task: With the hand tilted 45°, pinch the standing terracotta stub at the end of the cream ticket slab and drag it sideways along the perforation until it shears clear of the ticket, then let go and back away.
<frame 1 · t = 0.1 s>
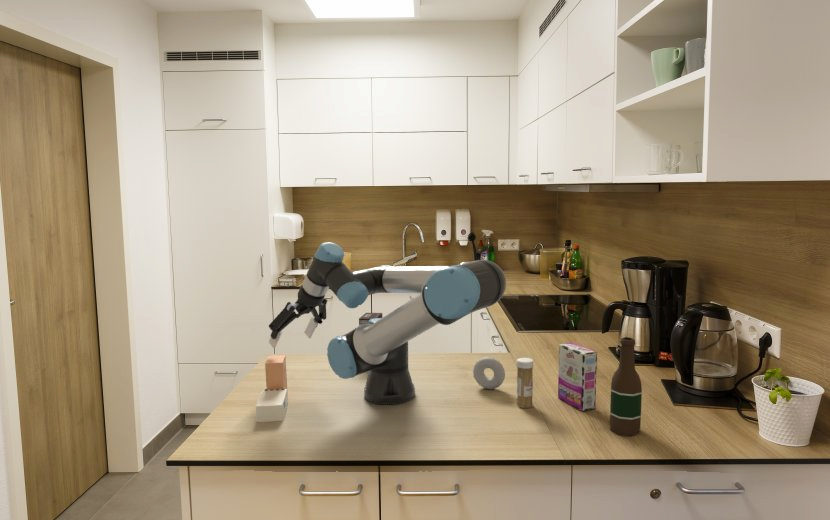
hand: (290, 339, 181), 15 cm above the worktop, tool tilted 35°, fingers open, 13 cm apart
beer bottle: (624, 430, 149), on the worktop
sprinkles bottle: (524, 406, 166), on the worktop
ticket: (272, 412, 165), on the worktop
candy bar box: (576, 404, 167), on the worktop
coffee box: (372, 359, 210), on the worktop
stub: (276, 378, 174), point 6 cm above the worktop, slide at 0.0 cm
donut: (488, 389, 179), on the worktop
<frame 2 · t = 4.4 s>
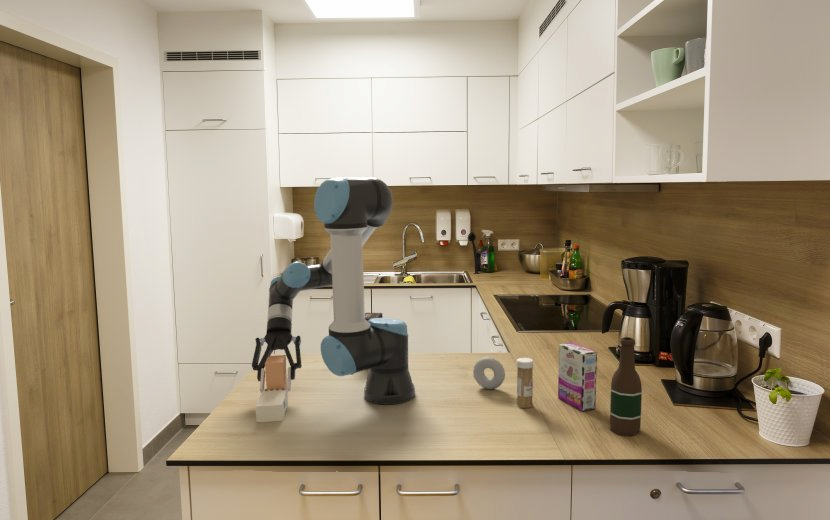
hand: (275, 390, 171), 4 cm above the worktop, tool tilted 45°, fingers closed on ticket, 7 cm apart
nothing on the worktop moved.
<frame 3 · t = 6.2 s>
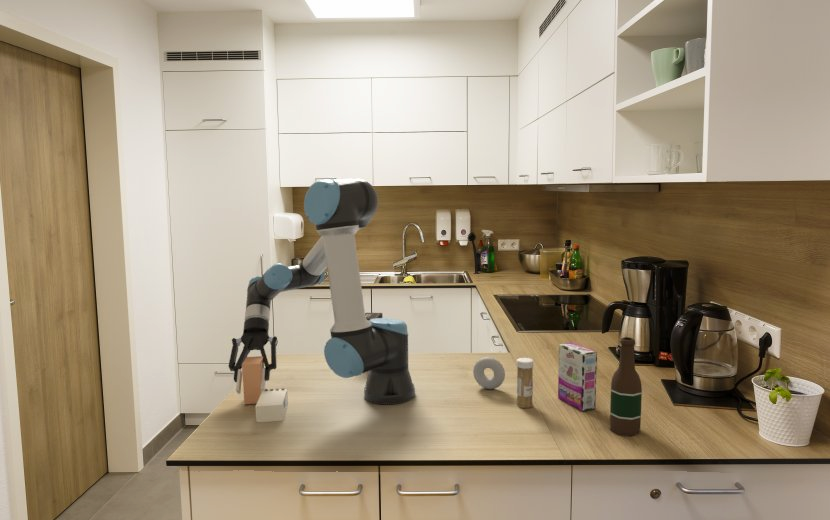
hand: (250, 391, 170), 4 cm above the worktop, tool tilted 45°, fingers open, 6 cm apart
stub: (254, 379, 173), point 6 cm above the worktop, slide at 6.5 cm, touching gripper
everything else where it was.
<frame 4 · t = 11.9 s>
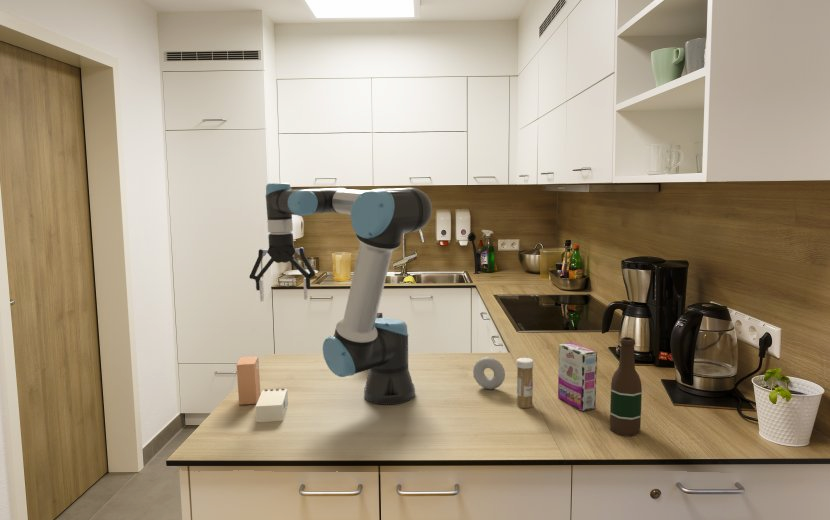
hand: (284, 299, 186), 27 cm above the worktop, tool pointing down, fingers open, 13 cm apart
stub: (248, 380, 173), point 6 cm above the worktop, slide at 8.0 cm
everything else where it was.
at the end: stub slide at 8.0 cm; the gripper is holding nothing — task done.
